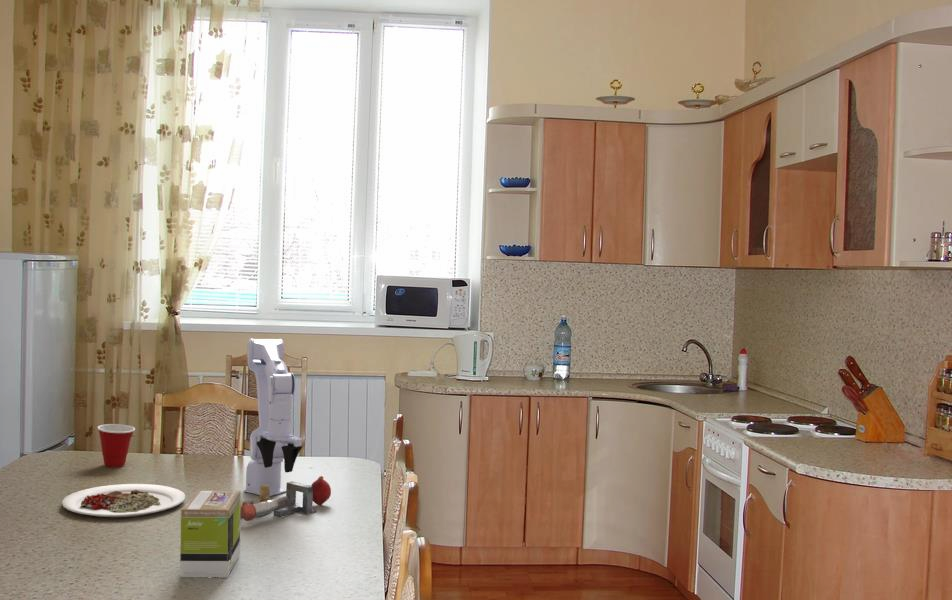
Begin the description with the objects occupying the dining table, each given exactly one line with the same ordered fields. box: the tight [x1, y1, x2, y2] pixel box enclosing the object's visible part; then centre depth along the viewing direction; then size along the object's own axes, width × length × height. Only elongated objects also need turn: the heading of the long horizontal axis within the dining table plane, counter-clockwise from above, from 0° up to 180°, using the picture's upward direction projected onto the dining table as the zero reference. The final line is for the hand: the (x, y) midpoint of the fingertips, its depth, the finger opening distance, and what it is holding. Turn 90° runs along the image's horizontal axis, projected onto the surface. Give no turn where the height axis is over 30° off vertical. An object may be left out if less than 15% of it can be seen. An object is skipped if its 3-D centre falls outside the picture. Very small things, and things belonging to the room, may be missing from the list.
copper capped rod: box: [240, 495, 289, 522], centre depth 230 cm, size 4×13×4 cm, turn 147°
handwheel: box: [240, 485, 270, 515], centre depth 236 cm, size 10×10×6 cm
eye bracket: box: [273, 481, 317, 518], centre depth 237 cm, size 9×10×7 cm
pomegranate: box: [310, 475, 332, 506], centre depth 245 cm, size 6×6×8 cm
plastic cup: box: [96, 423, 136, 468], centre depth 279 cm, size 11×11×12 cm
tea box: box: [179, 490, 241, 579], centre depth 195 cm, size 15×10×15 cm, turn 5°
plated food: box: [61, 483, 186, 518], centre depth 238 cm, size 30×30×3 cm
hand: (278, 469), depth 242 cm, fingers open, 7 cm apart
